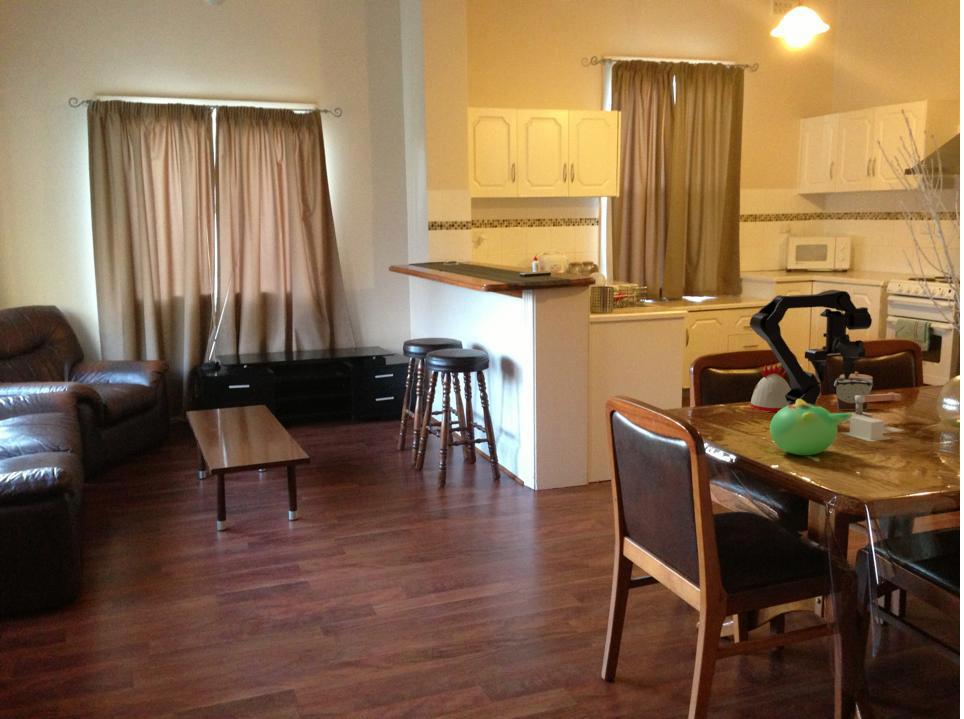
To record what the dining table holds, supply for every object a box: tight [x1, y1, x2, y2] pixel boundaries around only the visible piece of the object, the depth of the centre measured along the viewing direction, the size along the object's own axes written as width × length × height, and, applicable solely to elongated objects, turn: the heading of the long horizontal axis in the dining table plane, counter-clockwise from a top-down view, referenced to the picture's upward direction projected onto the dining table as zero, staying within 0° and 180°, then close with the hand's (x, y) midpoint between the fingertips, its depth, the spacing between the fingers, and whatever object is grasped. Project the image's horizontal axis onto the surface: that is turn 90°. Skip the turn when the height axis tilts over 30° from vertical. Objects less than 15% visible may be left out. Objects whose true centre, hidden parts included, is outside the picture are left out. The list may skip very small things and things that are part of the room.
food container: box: [833, 377, 874, 411], centre depth 298 cm, size 12×6×10 cm, turn 84°
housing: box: [844, 402, 905, 434], centre depth 271 cm, size 8×16×7 cm, turn 22°
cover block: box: [849, 416, 885, 440], centre depth 260 cm, size 5×8×5 cm, turn 22°
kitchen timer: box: [750, 364, 791, 413], centre depth 299 cm, size 14×14×15 cm
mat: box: [841, 431, 892, 443], centre depth 260 cm, size 8×11×1 cm
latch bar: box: [855, 392, 901, 403], centre depth 277 cm, size 4×14×2 cm, turn 104°
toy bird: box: [769, 399, 852, 456], centre depth 242 cm, size 18×17×15 cm
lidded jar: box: [839, 371, 874, 392], centre depth 314 cm, size 11×11×9 cm
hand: (834, 380), depth 278 cm, fingers open, 9 cm apart
